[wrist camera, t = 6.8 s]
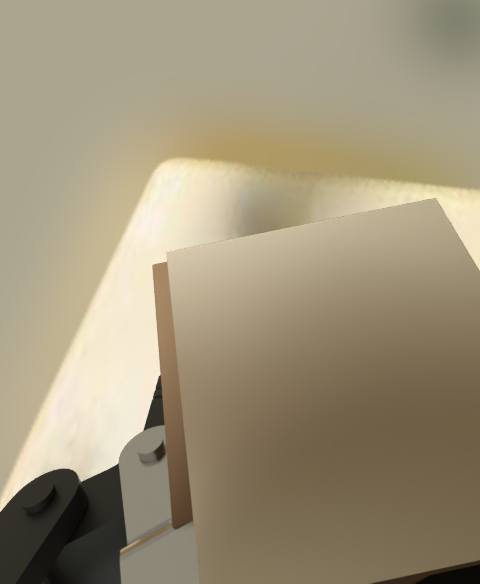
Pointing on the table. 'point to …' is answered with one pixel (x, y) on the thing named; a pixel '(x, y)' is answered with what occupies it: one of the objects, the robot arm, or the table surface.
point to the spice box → (325, 399)
